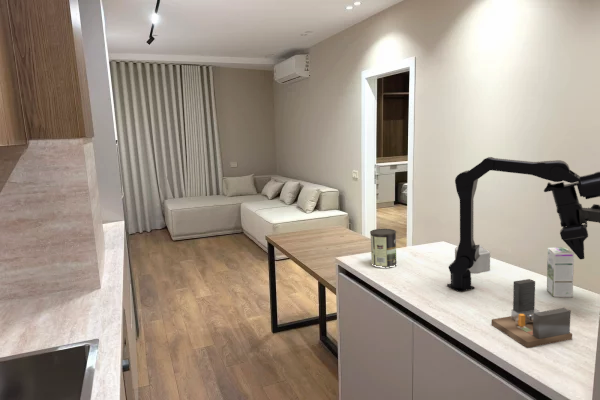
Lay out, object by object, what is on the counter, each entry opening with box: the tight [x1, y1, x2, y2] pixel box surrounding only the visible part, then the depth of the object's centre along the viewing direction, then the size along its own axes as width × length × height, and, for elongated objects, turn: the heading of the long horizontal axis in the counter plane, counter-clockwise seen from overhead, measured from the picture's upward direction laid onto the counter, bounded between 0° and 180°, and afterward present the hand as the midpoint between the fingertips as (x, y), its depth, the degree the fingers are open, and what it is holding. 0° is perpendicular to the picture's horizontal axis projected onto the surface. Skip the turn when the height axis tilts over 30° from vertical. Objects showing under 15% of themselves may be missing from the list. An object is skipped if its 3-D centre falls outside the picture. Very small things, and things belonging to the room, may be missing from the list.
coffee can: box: [369, 228, 398, 267], centre depth 169 cm, size 10×10×14 cm
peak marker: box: [518, 314, 525, 327], centre depth 108 cm, size 1×1×3 cm
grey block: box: [454, 244, 491, 275], centre depth 159 cm, size 10×13×9 cm
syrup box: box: [546, 246, 575, 298], centre depth 130 cm, size 6×6×14 cm
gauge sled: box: [510, 278, 541, 324], centre depth 110 cm, size 6×7×10 cm
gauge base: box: [491, 307, 573, 349], centre depth 108 cm, size 13×13×8 cm
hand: (582, 254), depth 120 cm, fingers open, 9 cm apart
